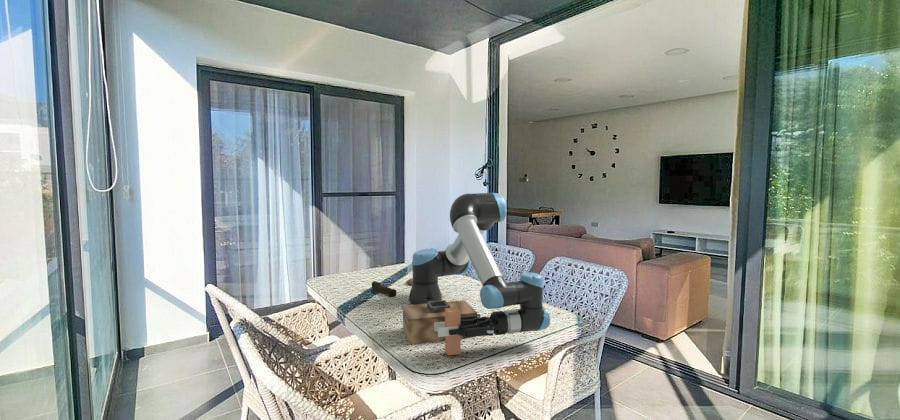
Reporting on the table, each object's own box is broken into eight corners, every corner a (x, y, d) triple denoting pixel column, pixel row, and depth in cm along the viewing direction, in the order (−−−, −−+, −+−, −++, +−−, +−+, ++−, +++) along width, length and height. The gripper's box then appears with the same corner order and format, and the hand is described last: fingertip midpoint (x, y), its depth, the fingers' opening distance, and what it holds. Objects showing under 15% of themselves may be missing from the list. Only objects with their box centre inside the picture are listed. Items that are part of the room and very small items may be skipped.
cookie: (409, 287, 210) (409, 282, 210) (404, 282, 220) (404, 277, 220) (428, 285, 214) (428, 280, 214) (422, 280, 224) (422, 275, 223)
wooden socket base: (408, 345, 139) (408, 313, 138) (401, 329, 154) (401, 300, 153) (477, 337, 146) (477, 307, 145) (464, 322, 160) (464, 295, 159)
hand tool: (397, 296, 195) (397, 287, 194) (389, 298, 192) (389, 288, 192) (377, 288, 209) (376, 279, 209) (370, 289, 206) (369, 280, 206)
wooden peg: (448, 355, 129) (448, 312, 128) (445, 350, 133) (445, 308, 132) (460, 353, 130) (460, 311, 129) (456, 348, 134) (456, 307, 133)
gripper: (515, 343, 128) (443, 352, 122) (494, 324, 144) (430, 331, 138) (515, 320, 127) (442, 328, 121) (495, 303, 144) (430, 309, 137)
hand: (436, 329), depth 129 cm, fingers closed on wooden peg, 4 cm apart
